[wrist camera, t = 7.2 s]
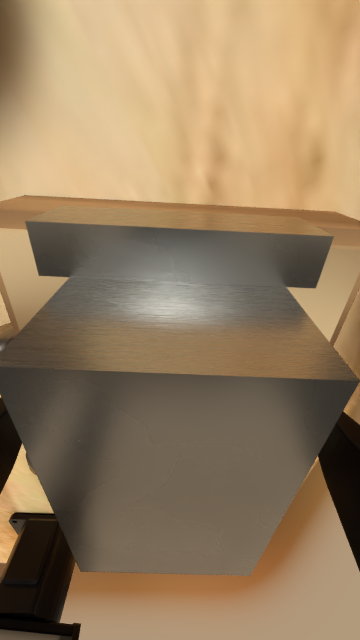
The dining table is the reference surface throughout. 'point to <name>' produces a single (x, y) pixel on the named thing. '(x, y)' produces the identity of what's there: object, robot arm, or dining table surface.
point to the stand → (34, 291)
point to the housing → (173, 383)
